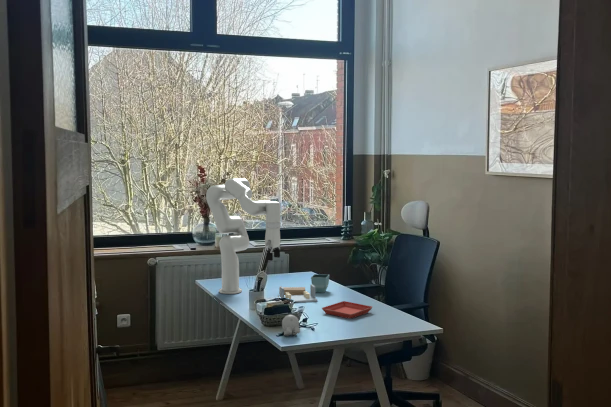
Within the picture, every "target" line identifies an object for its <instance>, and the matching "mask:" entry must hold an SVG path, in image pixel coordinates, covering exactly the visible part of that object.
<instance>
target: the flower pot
mask: <svg viewBox="0 0 611 407" xmlns="http://www.w3.org/2000/svg"><path fill="white" fill-rule="evenodd" d="M310 279H311V280H310V281H311V284H312V285H314V286H315V293H325V292H326V291H327V289H328V287H329V283H330V274H323V273H322V274H320V273H319V274H318V273H317V274H316V273H315V274H312V276H311V277H310Z"/></svg>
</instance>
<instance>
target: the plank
mask: <svg viewBox="0 0 611 407" xmlns="http://www.w3.org/2000/svg"><path fill="white" fill-rule="evenodd" d="M282 287H283V286H282ZM283 288H284V295H285V293H288V292H289V293H290V294H291V295H304V291H306V287H305V286H303V287H302V286H301V287H300V286H299V287H298V286H296V287H295V286H294V287H291V286H288V287H287V286H285V287H283ZM278 289H279V291H278V292H279V293H278V295H279V294H280V286H279V288H278Z"/></svg>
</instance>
